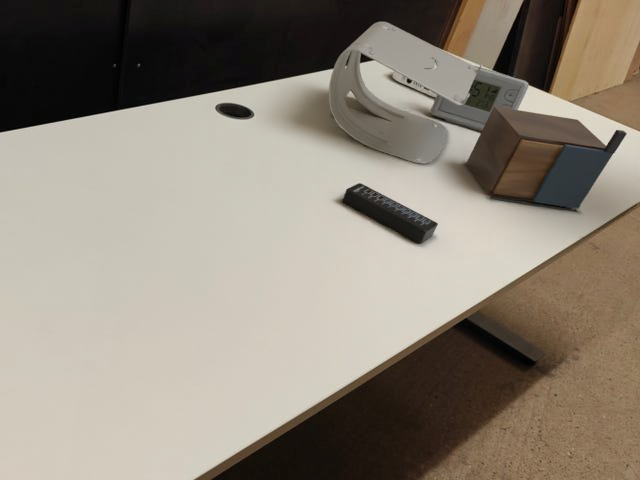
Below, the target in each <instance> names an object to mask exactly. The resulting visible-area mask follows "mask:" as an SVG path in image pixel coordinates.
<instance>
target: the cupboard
mask: <svg viewBox="0 0 640 480" xmlns="http://www.w3.org/2000/svg"><path fill="white" fill-rule="evenodd" d="M564 144H566V145H573V146H579V147H586V148H592V149H598V150H604V149H605V147H606V146H607V144H605V143H604V142H603V141H602V140H600V139H599V137H598V136H596V135H595V134H594V133H593V132H592V131H591V130H589V129H588V127H586V126H585V125H584V124H583V123H582V122H581V121H580V120H579V119H575V118H569V117H563V116H559V115H558V116H557V115H552V114H544V113H538V112H532V111H526V110H519V109H518V110H514V109H508V108H501V107H495V106H494V108H493V110H492V112H491V114H490V116H489V118H488V120H487V122H486V124H485V126H484V128H483V130H482V132H481V131H480V134H479V136H478V139H477V140H476V142H475V145H474V146H473V149H472V150H471V153H470V155H469V157H468V159H467V161H466V165H467V166H468V168H469V169H470V171H471V172H472V174H473V175H474V177H475V178H476V179H477V181H478V182H479V184H480V185H481V187H482V188H483V190H484V191H485V192H486V194H487V195H489V198H490V200H495V201H502V202H507V203H515V204H523V205H528V206H537V207H542V208H550V209H556V210H564V211H570V212H576V213H577V212H578V211H579V210H578V208H572V207H565V206H558V205H552V204H545V203H538V202H533V201H532V199H533V198H534V196H535V194H536V192H537V191H538V189H539V187H540V186H541V184H542V182H543V180H544V179H545V177H546V175H547V174H548V172H549V170H550V168H551V167H552V165H553V163H554V161H555V160H556V158H557V156H558V155H559V153H560V151H561V149H562V148H563V146H564Z"/></svg>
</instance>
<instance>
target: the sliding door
mask: <svg viewBox="0 0 640 480" xmlns="http://www.w3.org/2000/svg"><path fill="white" fill-rule="evenodd" d="M627 134H628V133H627V132H626V131H625V130H620V129H616V130H615V131H614V133H613V135H611V138H610V139H609V141H608V142H607V144H606V147H605V149H604V150H598V149H592V148H586V147H579V146H573V145H566V144H564V146H563V148H562V149H561V151H560V153H559V155H558V156H557V158H556V160H555V161H554V163H553V165H552V167H551V168H550V170H549V172H548V174H547V175H546V177H545V179H544V180H543V182H542V184H541V186H540V187H539V189H538V191H537V192H536V194H535V196H534V198H533V199H532V201H531V202H537V203H544V204H550V205H557V206H564V207H571V208H576V209H579V208H580V207H581V205H582V204H583V202H584V200H585V199H586V197H587V196H588V194H589V193H590V191H591V189H592V188H593V186H595V185H594V184H596V181H597V180H598V178H599V177H600V175H601V174H602V172H603V171H604V169H605V168H606V166H607V164H608V163H609V161H610V160H611V158H613V155H614V154H615V153H616V151H617V150H618V148H619V147H620V145H621V144H622V142H623V141H624V139H625V137H626V136H627Z"/></svg>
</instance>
